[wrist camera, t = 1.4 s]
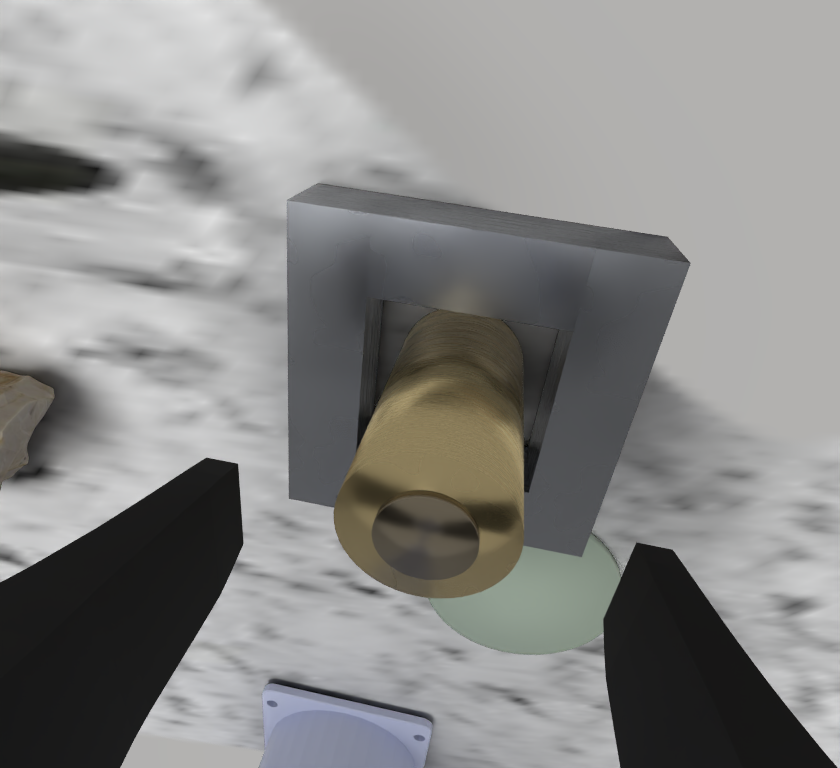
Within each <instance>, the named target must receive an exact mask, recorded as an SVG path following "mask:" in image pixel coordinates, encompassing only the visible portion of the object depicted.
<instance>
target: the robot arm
mask: <svg viewBox="0 0 840 768" xmlns="http://www.w3.org/2000/svg"><path fill="white" fill-rule="evenodd" d="M242 546H243V530H242V516H241V501H240V486H239V472H238V464H236V463H231V462H226V461H221V460H216V459H211V458H205V459H204V460H202V461H200V462H199V463H197V464H196V465H194V466H192V467H191V468H189V469H188V470H186V471H185V472H183V473H182V474H180V475H179V476H177V477H176V478H174V479H173V480H171V481H169V482H168V483H166V484H165V485H163V486H162V487H160V488H159V489H157V490H156V491H154V492H153V493H151V494H150V495H148V496H146V497H145V498H143V499H142V500H140V501H139V502H137V503H136V504H134V505H132V506H131V507H129V508H128V509H126V510H125V511H123V512H121V513H120V514H118V515H117V516H115V517H113V518H112V519H110V520H109V521H107V522H106V523H104V524H102V525H101V526H99V527H98V528H96V529H94V530H93V531H91V532H89V533H87V534H86V535H84V536H82V537H80V538H79V539H77V540H75V541H74V542H72V543H70V544H68V545H67V546H65V547H63V548H62V549H60V550H58V551H56V552H55V553H53V554H51V555H50V556H48V557H46V558H44V559H43V560H41V561H39V562H37V563H36V564H34V565H32V566H30V567H29V568H27V569H25V570H23V571H21V572H19V573H17V574H16V575H14V576H12V577H10V578H8V579H6V580H4V581H2V582H0V768H120V767H121V765H122V763H123V761H124V759H125V757H126V754H127V753H128V751H129V749H130V747H131V745H132V743H133V741H134V739H135V737H136V735H137V733H138V732H139V730H140V728H141V726H142V725H143V723H144V721H145V719H146V717H147V716H148V714H149V712H150V710H151V709H152V707H153V705H154V704H155V702H156V701H157V699H158V697H159V696H160V694H161V692H162V691H163V689H164V687H165V686H166V684H167V682H168V681H169V679H170V678H171V676H172V674H173V673H174V671H175V669H176V668H177V666H178V664H179V663H180V661H181V659H182V658H183V656H184V655H185V653H186V651H187V650H188V648H189V646H190V645H191V643H192V641H193V640H194V638H195V636H196V635H197V633H198V631H199V630H200V628H201V626H202V625H203V623H204V621H205V620H206V618H207V616H208V615H209V613H210V611H211V610H212V608H213V606H214V605H215V603H216V601H217V600H218V598H219V596H220V594H221V592H222V590H223V588H224V586H225V584H226V582H227V580H228V577H229V575H230V573H231V571H232V569H233V566H234V564H235V562H236V560H237V557H238V555H239V553H240V550H241V548H242ZM603 627H604V653H605V670H606V682H607V688H608V695H609V701H610V707H611V713H612V719H613V726H614V732H615V738H616V744H617V749H618V755H619V761H620V767H621V768H837V767H836V765H835V764H834V763H833V762H832V761H831V760H830V758H829V757H828V756H827V755H826V754H825V753H824V751H823V750H822V749H821V748H820V747H819V745H818V744H817V743H816V742H815V740H814V739H813V738H812V737H811V736H810V734H809V733H808V732H807V731H806V729H805V728H804V727H803V726H802V724H801V723H800V722H799V721H798V720H797V718H796V717H795V716H794V715H793V713H792V712H791V711H790V710H789V708H788V707H787V706H786V705H785V704H784V702H783V701H782V700H781V698H780V697H779V696H778V695H777V693H776V692H775V691H774V689H773V688H772V687H771V686H770V684H769V683H768V682H767V680H766V679H765V678H764V676H763V675H762V674H761V672H760V671H759V670H758V668H757V667H756V666H755V665H754V663H753V662H752V660H751V659H750V658H749V656H748V655H747V654H746V652H745V651H744V650H743V648H742V647H741V646H740V644H739V643H738V642H737V640H736V639H735V637H734V636H733V635H732V633H731V632H730V630H729V629H728V628H727V626H726V625H725V624H724V622H723V621H722V619H721V618H720V616H719V615H718V614H717V612H716V611H715V609H714V608H713V607H712V605H711V604H710V602H709V601H708V599H707V598H706V597H705V595H704V594H703V592H702V591H701V589H700V588H699V587H698V585H697V584H696V582H695V581H694V579H693V578H692V577H691V575H690V574H689V572H688V571H687V569H686V568H685V566H684V565H683V564H682V562H681V561H680V559H679V558H678V557H677V555H676V554H675V552H674V551H673V550H671V549H666V548H661V547H656V546H651V545H646V544H641V543H636V545H635V547H634V549H633V552H632V554H631V556H630V559H629V561H628V563H627V566H626V568H625V570H624V572H623V575H622V577H621V579H620V582H619V584H618V586H617V589H616V591H615V593H614V595H613V598H612V600H611V602H610V605H609V607H608V609H607V612H606V614H605V616H604V618H603ZM262 703H263V723H264V742H265V752H264V754H263V757H262V760H261V762H260V765H259V768H424V765H425V760H426V756H427V751H428V747H429V743H430V738H431V734H432V723H431V722H430V721H429V720H427V719H425V718H422V717H418V716H413V715H409V714H405V713H400V712H396V711H392V710H387V709H383V708H379V707H374V706H370V705H365V704H361V703H357V702H352V701H348V700H344V699H339V698H335V697H331V696H326V695H322V694H317V693H313V692H309V691H304V690H300V689H296V688H291V687H287V686H283V685H278V684H273V683H271V684H267V685H266V686H265V688H264V690H263V693H262Z"/></svg>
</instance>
